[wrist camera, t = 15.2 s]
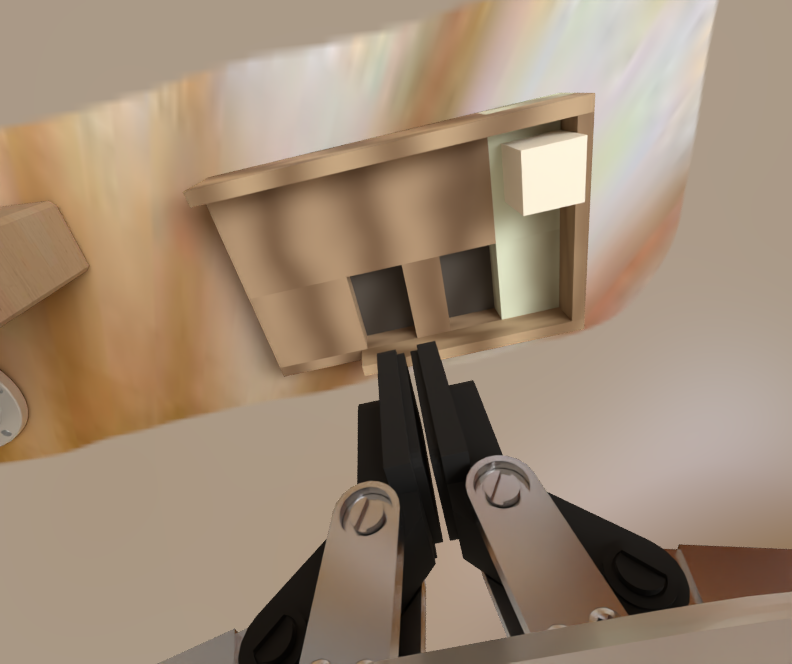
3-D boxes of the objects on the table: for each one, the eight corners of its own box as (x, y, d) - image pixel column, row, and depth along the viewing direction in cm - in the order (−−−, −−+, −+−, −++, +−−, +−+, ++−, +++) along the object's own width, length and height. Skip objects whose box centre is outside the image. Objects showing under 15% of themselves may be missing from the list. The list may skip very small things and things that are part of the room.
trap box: (288, 360, 38) (279, 394, 34) (208, 177, 29) (182, 191, 25) (558, 301, 37) (584, 329, 33) (559, 92, 28) (595, 93, 24)
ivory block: (504, 201, 29) (523, 216, 26) (501, 143, 27) (521, 150, 24) (558, 189, 29) (584, 202, 26) (558, 129, 27) (587, 135, 24)
